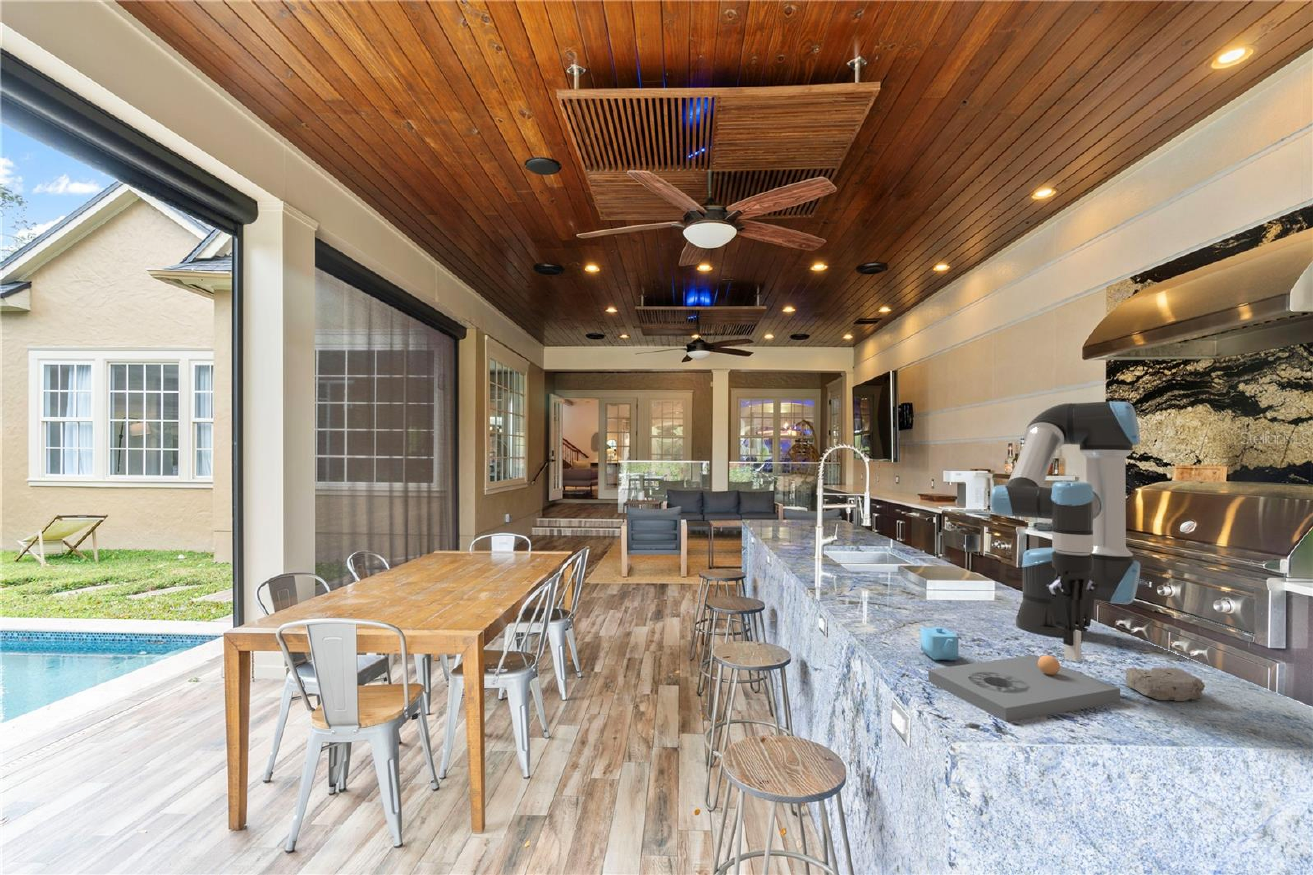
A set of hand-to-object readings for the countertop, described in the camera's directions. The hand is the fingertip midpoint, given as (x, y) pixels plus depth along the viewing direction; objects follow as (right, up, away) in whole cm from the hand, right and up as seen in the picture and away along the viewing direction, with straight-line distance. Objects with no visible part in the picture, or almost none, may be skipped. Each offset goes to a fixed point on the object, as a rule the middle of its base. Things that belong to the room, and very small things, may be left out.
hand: (1072, 659), depth 132 cm
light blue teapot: (-22, -6, +15) cm, 27 cm away
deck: (-14, -6, -4) cm, 16 cm away
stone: (+15, -3, 0) cm, 15 cm away
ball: (-6, -1, -2) cm, 7 cm away
